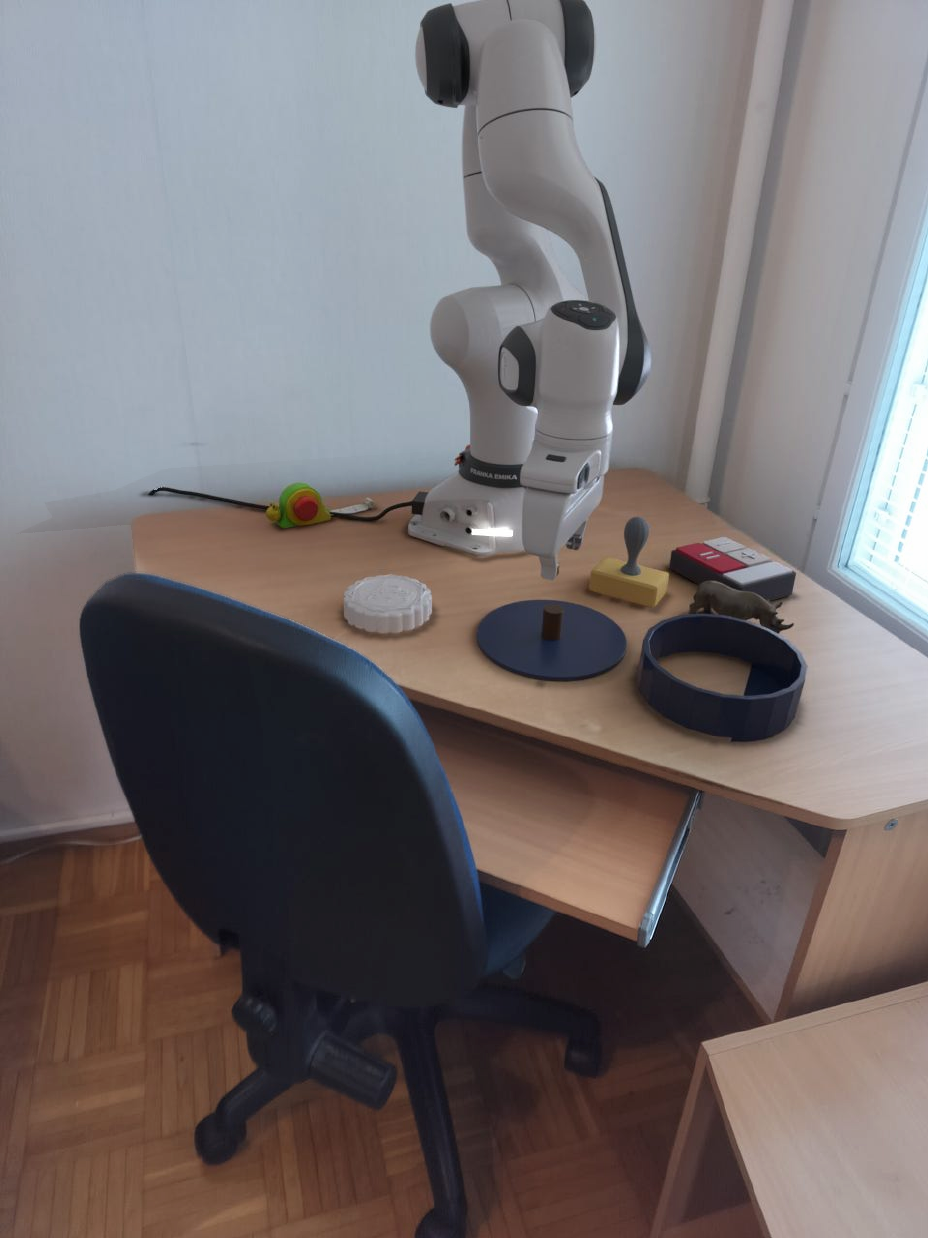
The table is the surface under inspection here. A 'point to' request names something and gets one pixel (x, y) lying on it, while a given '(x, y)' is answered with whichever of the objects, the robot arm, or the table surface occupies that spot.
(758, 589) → the calculator
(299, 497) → the toy measuring tape
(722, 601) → the rhino figurine
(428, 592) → the mooncake
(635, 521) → the rubber stamp
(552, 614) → the pan lid
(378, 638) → the table surface
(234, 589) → the table surface
